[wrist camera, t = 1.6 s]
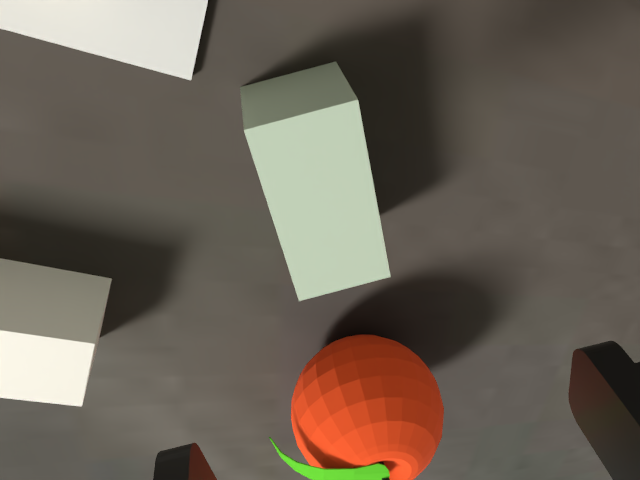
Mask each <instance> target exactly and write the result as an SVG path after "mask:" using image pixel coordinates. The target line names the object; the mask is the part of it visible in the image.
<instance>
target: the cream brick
mask: <svg viewBox="0 0 640 480" xmlns="http://www.w3.org/2000/svg"><path fill="white" fill-rule="evenodd" d="M111 281H112V278H106V277H101V276H95V275H90V274H84V273H79V272H73V271H68V270H62V269H57V268H51V267H46V266H40V265H35V264H29V263H24V262H18V261H13V260H7V259H2V258H0V398H9V399H18V400H27V401H36V402H45V403H54V404H64V405H73V406H82V404H83V400H84V396H85V392H86V388H87V384H88V380H89V376H90V373H91V369H92V365H93V361H94V357H95V353H96V349H97V345H98V341H99V337H100V332H101V328H102V323H103V318H104V314H105V309H106V304H107V299H108V295H109V290H110V285H111Z"/></svg>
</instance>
